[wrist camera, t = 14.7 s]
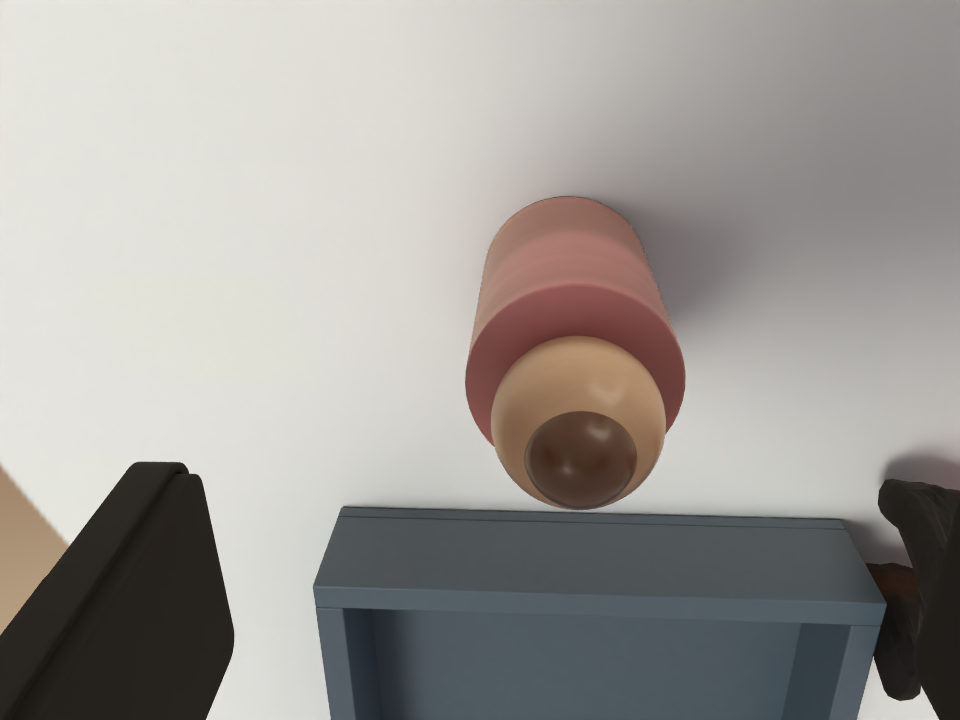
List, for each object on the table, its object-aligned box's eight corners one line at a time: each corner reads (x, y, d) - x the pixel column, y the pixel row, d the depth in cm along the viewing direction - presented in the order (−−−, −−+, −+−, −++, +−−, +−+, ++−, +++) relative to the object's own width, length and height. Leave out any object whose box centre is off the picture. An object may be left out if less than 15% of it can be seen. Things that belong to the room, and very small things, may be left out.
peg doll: (483, 195, 21) (444, 360, 12) (652, 196, 21) (736, 365, 12) (485, 347, 23) (451, 584, 14) (640, 350, 23) (704, 593, 14)
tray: (340, 506, 26) (312, 585, 23) (841, 519, 25) (888, 603, 22) (372, 790, 32) (353, 886, 29) (778, 810, 31) (807, 912, 28)
